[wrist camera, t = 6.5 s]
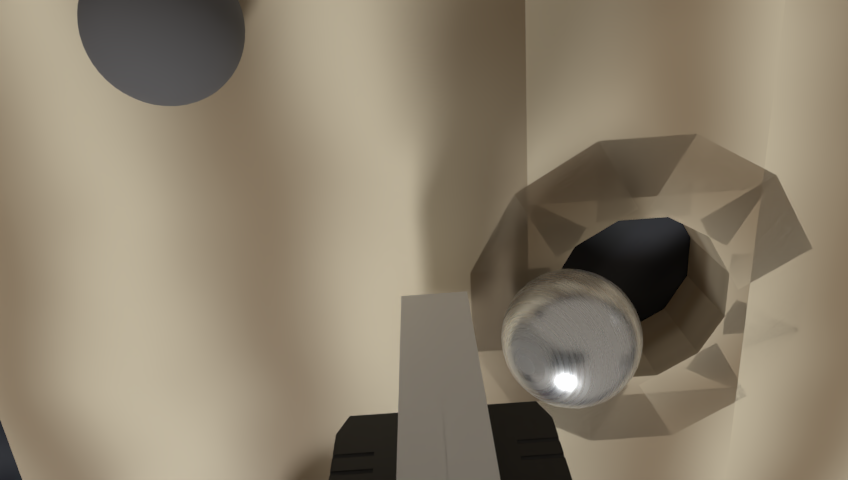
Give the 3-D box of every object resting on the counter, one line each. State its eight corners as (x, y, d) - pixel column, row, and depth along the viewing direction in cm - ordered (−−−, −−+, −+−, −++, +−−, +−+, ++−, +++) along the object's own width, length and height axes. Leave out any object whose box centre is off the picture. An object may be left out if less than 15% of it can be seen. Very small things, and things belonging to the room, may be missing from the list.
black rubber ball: (134, 97, 15) (71, 126, 12) (101, -50, 14) (22, -56, 11) (269, 87, 15) (237, 113, 12) (246, -60, 14) (205, -70, 11)
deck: (109, 561, 23) (76, 627, 21) (-97, -75, 16) (-185, -84, 13) (804, 513, 23) (847, 573, 21) (926, -152, 16) (1016, -174, 13)
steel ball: (556, 346, 18) (474, 396, 16) (559, 237, 17) (470, 277, 15) (664, 395, 16) (584, 458, 14) (676, 272, 15) (590, 324, 13)
